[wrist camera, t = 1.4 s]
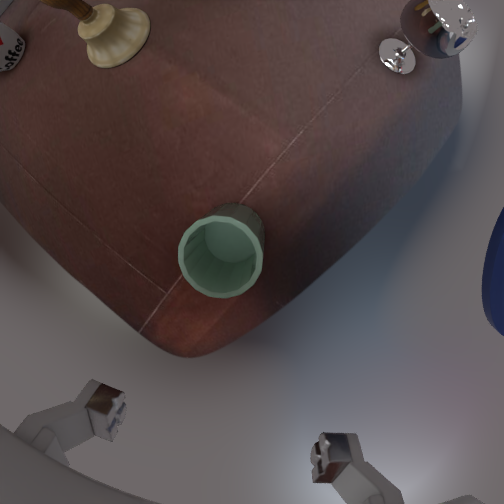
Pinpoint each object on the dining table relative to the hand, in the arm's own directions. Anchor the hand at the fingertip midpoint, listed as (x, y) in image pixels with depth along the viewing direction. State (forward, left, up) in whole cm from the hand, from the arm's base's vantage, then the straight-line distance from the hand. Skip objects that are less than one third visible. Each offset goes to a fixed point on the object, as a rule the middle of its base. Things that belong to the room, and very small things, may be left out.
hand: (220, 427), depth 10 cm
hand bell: (+17, -25, -21) cm, 37 cm away
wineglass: (-13, -24, -21) cm, 35 cm away
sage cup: (+2, -3, -21) cm, 21 cm away
